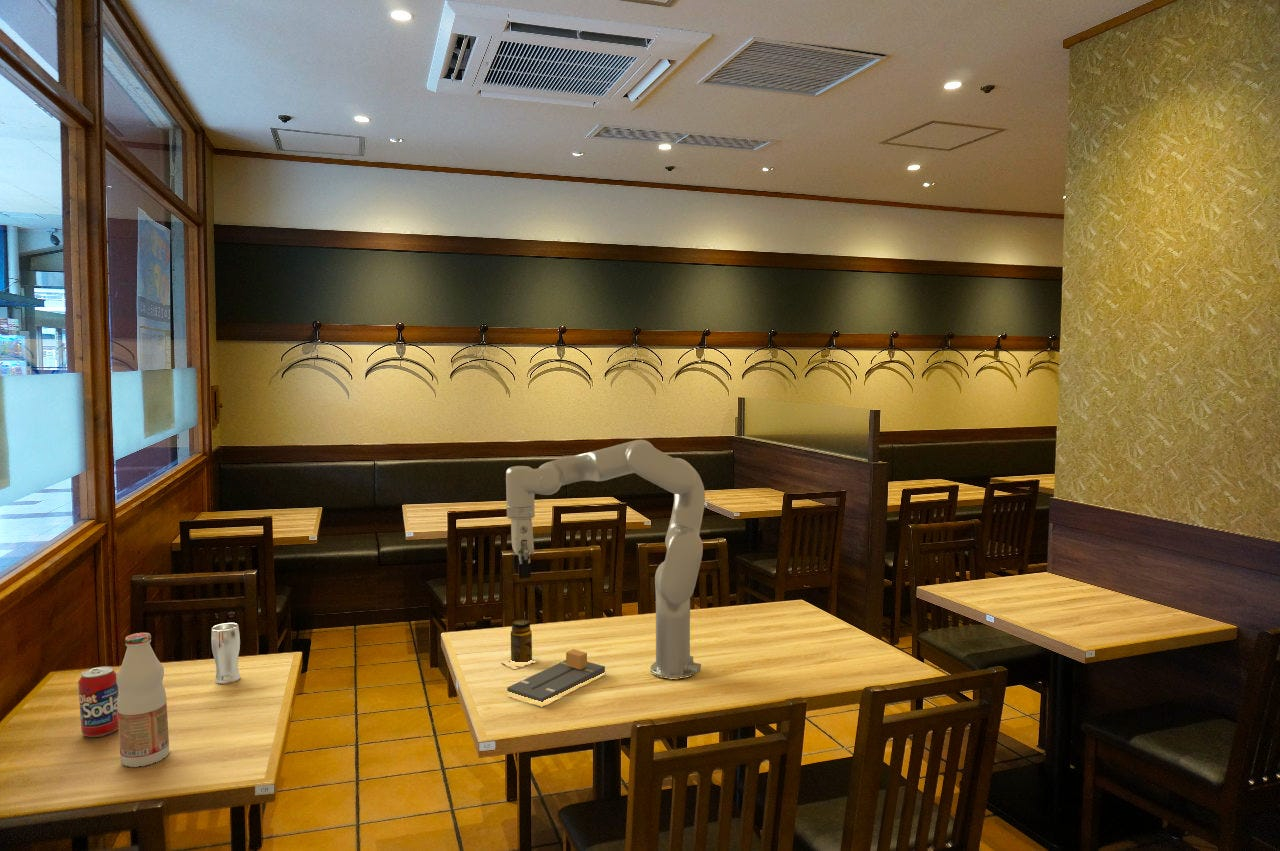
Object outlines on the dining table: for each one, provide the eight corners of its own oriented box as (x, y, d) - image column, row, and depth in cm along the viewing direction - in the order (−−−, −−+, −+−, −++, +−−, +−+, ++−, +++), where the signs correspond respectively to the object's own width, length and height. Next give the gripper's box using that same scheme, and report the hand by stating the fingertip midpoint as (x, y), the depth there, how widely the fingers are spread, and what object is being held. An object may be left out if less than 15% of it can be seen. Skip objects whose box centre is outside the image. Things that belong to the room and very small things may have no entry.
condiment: (538, 662, 243) (537, 622, 242) (514, 670, 238) (513, 629, 236) (523, 655, 249) (522, 616, 248) (499, 663, 243) (498, 623, 242)
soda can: (113, 721, 206) (109, 662, 205) (126, 730, 201) (122, 670, 200) (76, 733, 200) (72, 672, 199) (88, 742, 195) (84, 680, 194)
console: (571, 665, 241) (571, 656, 240) (604, 675, 234) (604, 665, 234) (507, 696, 220) (507, 686, 219) (541, 708, 213) (541, 697, 212)
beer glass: (230, 685, 227) (227, 631, 226) (207, 683, 229) (204, 630, 227) (247, 675, 234) (244, 623, 233) (225, 673, 236) (222, 621, 234)
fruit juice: (128, 773, 181) (120, 646, 178) (115, 758, 188) (107, 636, 185) (175, 757, 188) (168, 635, 185) (161, 743, 194) (154, 625, 192)
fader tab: (573, 662, 236) (573, 649, 235) (587, 666, 233) (586, 652, 232) (566, 665, 233) (566, 652, 233) (580, 669, 230) (580, 656, 230)
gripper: (539, 517, 222) (540, 580, 224) (529, 505, 239) (530, 564, 240) (511, 518, 220) (512, 583, 222) (502, 506, 236) (504, 566, 238)
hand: (522, 573), depth 231 cm, fingers open, 9 cm apart
